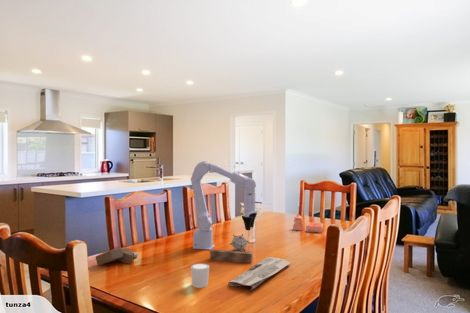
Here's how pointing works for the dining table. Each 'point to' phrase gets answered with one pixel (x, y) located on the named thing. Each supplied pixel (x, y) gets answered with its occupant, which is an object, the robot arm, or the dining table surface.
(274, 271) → the newspaper
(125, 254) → the grey angled block
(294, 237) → the dining table surface
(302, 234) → the dining table surface
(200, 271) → the white short cylinder
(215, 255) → the batten
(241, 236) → the game die
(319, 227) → the pottery
